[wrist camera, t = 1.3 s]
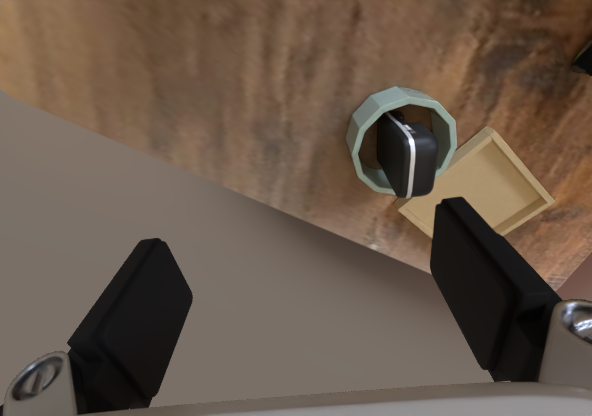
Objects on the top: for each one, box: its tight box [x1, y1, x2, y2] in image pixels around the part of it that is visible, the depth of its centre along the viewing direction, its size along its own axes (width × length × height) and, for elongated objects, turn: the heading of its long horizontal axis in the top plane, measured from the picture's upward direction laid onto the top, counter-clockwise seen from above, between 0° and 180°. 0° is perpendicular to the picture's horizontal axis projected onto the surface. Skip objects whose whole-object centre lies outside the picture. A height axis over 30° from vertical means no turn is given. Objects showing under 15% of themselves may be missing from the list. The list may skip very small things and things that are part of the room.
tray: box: [394, 126, 555, 239], centre depth 43 cm, size 15×16×2 cm
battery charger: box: [377, 110, 439, 199], centre depth 34 cm, size 7×4×11 cm, turn 7°
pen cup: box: [346, 86, 457, 195], centre depth 36 cm, size 11×11×6 cm
